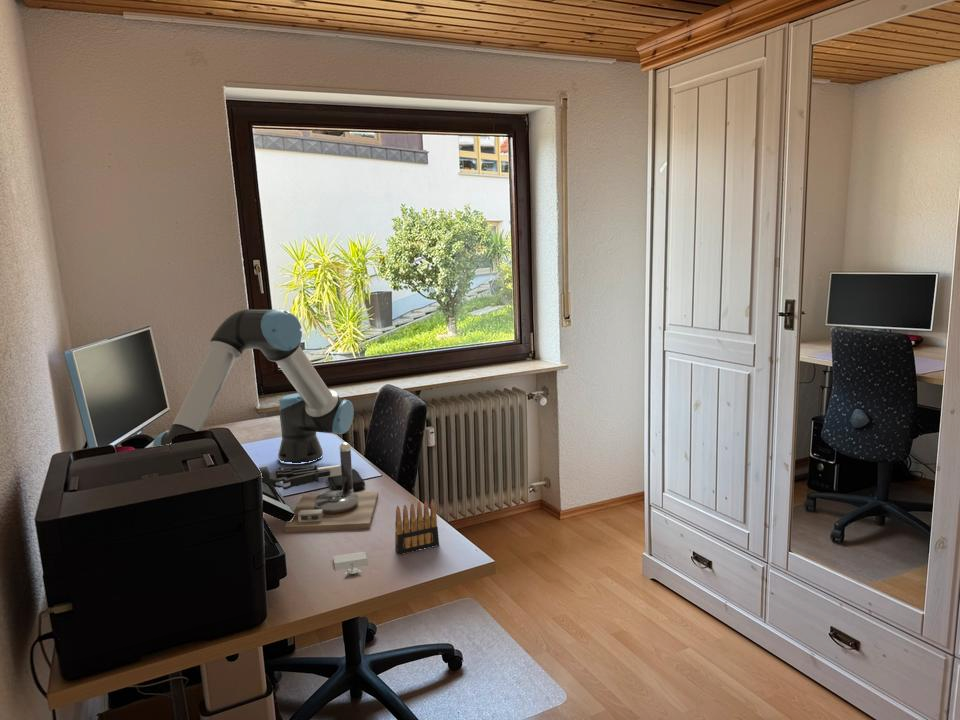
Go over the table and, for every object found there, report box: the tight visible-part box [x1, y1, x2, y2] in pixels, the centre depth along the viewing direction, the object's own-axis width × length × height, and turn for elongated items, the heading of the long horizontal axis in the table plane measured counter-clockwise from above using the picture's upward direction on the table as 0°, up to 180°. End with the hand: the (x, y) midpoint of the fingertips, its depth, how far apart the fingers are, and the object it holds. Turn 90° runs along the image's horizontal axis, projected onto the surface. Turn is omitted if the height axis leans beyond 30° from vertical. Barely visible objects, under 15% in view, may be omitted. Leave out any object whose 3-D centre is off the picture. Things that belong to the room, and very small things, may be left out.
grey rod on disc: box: [314, 442, 358, 514], centre depth 182 cm, size 15×12×16 cm
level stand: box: [284, 491, 379, 533], centre depth 181 cm, size 22×22×4 cm
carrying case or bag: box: [327, 468, 366, 492], centre depth 203 cm, size 11×3×15 cm
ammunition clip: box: [394, 498, 440, 556], centre depth 157 cm, size 11×2×12 cm, turn 114°
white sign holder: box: [333, 551, 369, 577], centre depth 149 cm, size 7×12×2 cm, turn 16°
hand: (340, 469), depth 187 cm, fingers closed
